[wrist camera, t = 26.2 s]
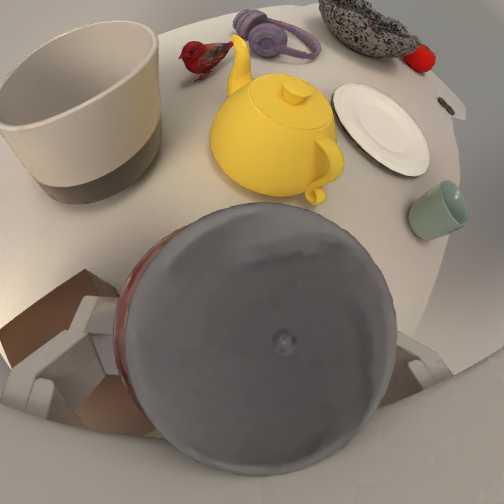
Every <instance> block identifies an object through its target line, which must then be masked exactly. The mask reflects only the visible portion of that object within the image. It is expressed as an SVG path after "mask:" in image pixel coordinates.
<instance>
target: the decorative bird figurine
mask: <svg viewBox="0 0 504 504" xmlns="http://www.w3.org/2000/svg"><path fill="white" fill-rule="evenodd" d="M243 36H244V35H242V36H240V37H241V38H242V37H243ZM233 45H234V44H233V41H231V42H229V43H212V44H202V43H201V42H198V41H191V42H188V43H187V44H186V45H185V46H184V47H183V49H182V53H181V55H180V57H179V59H181V58H182V60H183V62H184V63H185V66H186V68H187V69H188V70H189V71H190V72H192V73H197V74H200V73H204V74H203V75H201V76H200V77H199V78H198V79H197V80H201V79H203V78H204V77H205V76H207V75H208V74H210V72H212V71H210V70H211V69H213V68H214V67H215V66H216V65H217V64H218V63H219V62H220V61H221V60H222V59H223V58H224V57H225V56H226V54H227V53H228V51H229V50H230V48H231V47H232V46H233ZM197 80H195V81H197ZM195 81H194V82H195Z"/></svg>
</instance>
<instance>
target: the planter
mask: <svg viewBox="0 0 504 504" xmlns="http://www.w3.org/2000/svg"><path fill="white" fill-rule="evenodd" d="M0 133H1V135H2V136H3V138H4V139H5V141H6V142H7V143H8V145H9V146H10V148H11V149H12V150H13V152H14V153H15V155H16V156H17V157H18V159H19V160H20V161H21V163H22V164H23V165H24V166H25V168H26V169H27V170H28V172H29V173H30V174H31V175H32V177H33V178H34V179H35V180H36V182H37V183H38V184H39V185H40V186H41V188H42V189H43V190H44V191H45V192H46V193H47V194H48V195H49V196H50V197H52V198H53V199H55V200H57V201H59V202H62V203H66V204H88V203H93V202H97V201H100V200H103V199H105V198H108V197H110V196H112V195H114V194H116V193H118V192H120V191H121V190H123V189H124V188H126V187H127V186H129V185H130V184H131V183H133V182H134V181H135V180H136V179H137V178H138V177H139V176H140V175H141V174H142V173H143V172H144V171H145V170H146V169H147V167H148V166H149V165H150V163H151V162H152V161H153V159H154V157H155V155H156V153H157V151H158V149H159V146H160V143H161V137H162V125H161V110H160V90H159V40H158V36H157V34H156V32H155V31H154V30H153V29H152V28H150V27H149V26H147V25H145V24H143V23H139V22H135V21H129V20H109V21H102V22H97V23H92V24H88V25H85V26H81V27H78V28H75V29H73V30H70V31H68V32H65V33H63V34H61V35H59V36H57V37H55V38H53V39H51V40H49V41H48V42H46V43H44V44H43V45H41V46H40V47H39V48H37V49H36V50H34V51H33V52H32V53H30V54H29V55H28V56H26V57H25V58H24V59H23V60H22V61H21V62H20V63H19V64H18V65H17V66H16V67H15V68H14V69H13V70H12V71H11V72H10V73H9V75H8V76H7V77H6V78H5V80H4V81H3V83H2V84H1V86H0Z"/></svg>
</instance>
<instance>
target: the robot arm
mask: <svg viewBox="0 0 504 504" xmlns="http://www.w3.org/2000/svg"><path fill="white" fill-rule="evenodd" d="M118 300H119V298H113V297H101V296H100V297H99V296H87V295H86V296H85V297H83V299H82V301H81V303H80V305H79V307H78V310H77V312H76V314H75V316H74V318H73V321H72V323H71V325H70V328H69V330H64V331H62V332H61V333H59V334H58V335H57V336H55V337H54V338H52V339H51V340H50V341H48V342H47V343H46V344H44V345H43V346H41V347H40V348H39V349H37V350H36V351H35V352H33V353H32V354H31V355H29V356H28V357H27V358H25V359H24V360H23V361H21V362H20V363H19V364H17V365H16V366H15V367H13V368H12V370H11V372H10V374H9V377H8V379H7V382H6V384H5V387H4V390H3V392H2V395H1V398H0V504H504V346H503V347H502V348H500V349H499V350H497V351H496V352H494V353H492V354H491V355H490V356H488V357H486V358H484V359H483V360H481V361H479V362H478V363H476V364H474V365H473V366H471V367H469V368H467V369H465V370H464V371H462V372H460V373H458V374H456V375H453V374H452V373H451V371H450V370H449V368H448V367H447V366H446V364H445V363H444V362H443V360H442V359H441V358H440V356H439V355H438V354H437V353H436V352H435V351H433V350H432V349H430V348H428V347H426V346H424V345H423V344H421V343H419V342H417V341H415V340H413V339H412V338H410V337H408V336H406V335H404V334H402V333H401V332H399V331H397V343H396V344H397V350H396V360H395V365H394V369H393V372H392V375H391V379H390V382H389V386H388V389H387V391H386V393H385V395H384V396H383V398H382V400H381V402H380V404H379V406H378V408H377V410H376V412H375V414H374V416H373V417H372V418H371V419H370V421H369V422H368V423H367V424H366V426H365V427H364V428H363V429H362V430H361V431H360V432H359V433H358V434H357V435H356V436H355V437H354V438H353V439H351V441H350V442H349V443H348V444H347V445H346V446H345V447H344V448H343V449H340V450H337V451H336V452H335V453H333V454H332V455H331V456H329V457H327V458H325V459H324V460H322V461H320V462H318V463H316V464H314V465H311V466H309V467H307V468H304V469H301V470H298V471H294V472H291V473H288V474H282V475H272V476H266V477H261V476H240V475H234V474H232V473H229V472H225V471H220V470H217V469H214V468H211V467H209V466H206V465H204V464H201V463H198V462H196V461H195V460H193V459H191V458H190V457H188V456H186V455H185V454H183V453H182V452H180V451H179V450H177V449H176V448H175V447H174V446H173V445H171V444H170V443H169V442H168V441H167V440H166V439H165V438H155V437H142V436H131V435H122V434H114V433H107V432H101V431H95V430H90V429H86V427H85V425H84V424H83V423H82V422H81V420H80V419H79V418H78V416H77V415H76V414H75V411H76V410H77V409H78V408H79V407H80V405H81V404H82V403H83V402H84V401H85V399H86V398H87V397H88V396H89V395H90V394H91V392H92V391H93V390H94V389H95V388H96V387H97V385H98V384H99V383H100V382H101V381H102V380H103V378H104V377H105V375H117V376H120V374H119V371H118V369H117V367H116V361H115V354H114V348H113V325H114V316H115V313H116V308H117V303H118Z"/></svg>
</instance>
